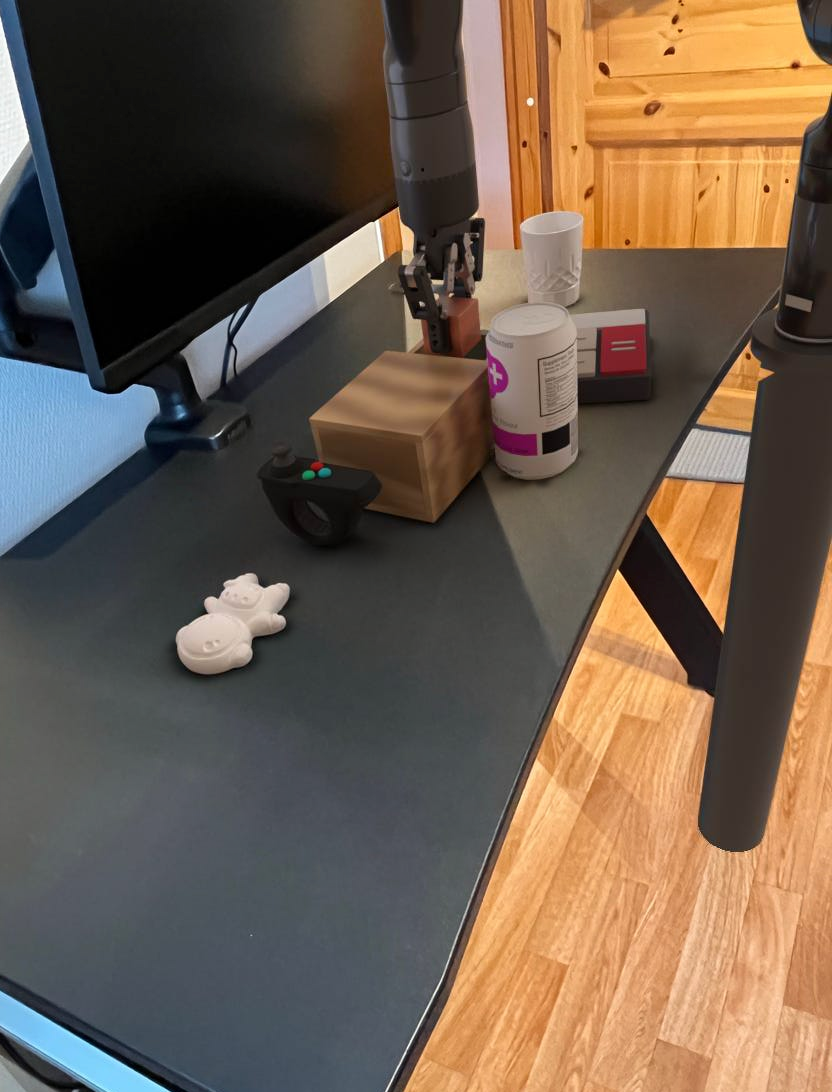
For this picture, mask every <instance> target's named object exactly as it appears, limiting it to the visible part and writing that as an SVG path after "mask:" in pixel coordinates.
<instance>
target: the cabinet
mask: <svg viewBox="0 0 832 1092" xmlns="http://www.w3.org/2000/svg"><path fill="white" fill-rule="evenodd" d="M308 420H309V424H310V428H311V432H312V436H313V441H314V445H315V450H316V453H317V457H318V462H322V463H328V464H333V465H339V466H345V467H350V468H356V469H362V470H367V471H372V472H373V473H374V474H375V475H376V477H377V478H378V479H379V482H381V484H382V488H381V490H380V492H379V494H378V495H377V496H376V498H375V499H374V500H373V501H372V502H371V503H370V504H369V505H368V506H366V507H365V508H364V509H366V510H370V511H375V512H380V513H385V514H390V515H394V516H399V517H404V518H409V519H413V520H417V521H421V522H426V523H427V522H428V523H433V524H435V523H436V522H437V520H438V519H439V518H440V517H441V516H442V515H443V514H444V512H445V511H446V510H447V509H448V508H449V506H450V505H451V504H452V503H453V501H455V499H456V498H457V497H458V496H459V495H460V494H461V492H462V491H463V490H464V489H465V488H466V486H467V485H468V484H469V483H470V482H471V481H472V479H474V477H475V476H476V475H477V474H478V473H479V471H480V470H481V469H482V467H483V466H484V465H485V464H486V463H487V462H488V461H489V460H490V458H491V457H492V456H493V455H494V454H495V445H494V433H493V421H492V409H491V397H490V385H489V373H488V361H485V360H475V359H465V358H455V357H445V356H435V355H425V354H415V353H408V352H404V351H395V350H385V351H383V352H382V353H381V354H380V355H379V356H378V357H377V358H376V359H374V360H373V361H372V362H371V363H370V364H369V365H368V366H367V367H365V368H364V369H363V370H362V371H361V372H360V373H359V374H358V375H357V376H355V377H354V378H353V379H351V381H349V382H348V383H347V384H346V385H345V386H344V387H343V388H342V389H341V390H339V391H338V392H337V393H336V394H335V395H334V396H333V397H332V398H331V399H329V400H328V401H327V402H326V403H325V404H323V406H321V407H320V408H319V409H318V410H317V411H316V412H314V414H312V415H311V416H310V417H309V418H308Z"/></svg>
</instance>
